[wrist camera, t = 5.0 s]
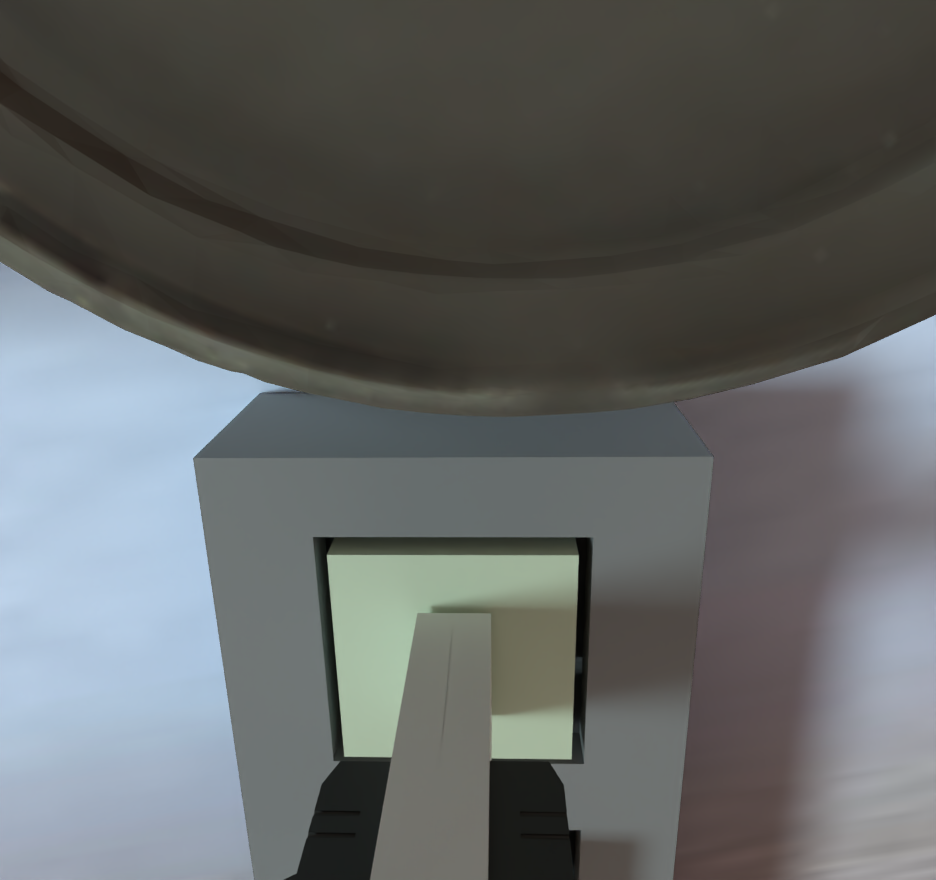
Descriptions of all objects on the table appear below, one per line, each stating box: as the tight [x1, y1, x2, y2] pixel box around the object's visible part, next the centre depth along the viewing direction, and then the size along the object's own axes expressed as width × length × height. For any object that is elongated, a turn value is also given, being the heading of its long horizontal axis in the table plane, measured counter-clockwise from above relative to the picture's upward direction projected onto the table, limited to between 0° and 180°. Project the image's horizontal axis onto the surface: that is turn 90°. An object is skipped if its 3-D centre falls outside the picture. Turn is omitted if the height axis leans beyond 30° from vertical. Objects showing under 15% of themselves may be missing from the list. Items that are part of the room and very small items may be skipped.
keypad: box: [193, 393, 714, 880], centre depth 21 cm, size 24×10×4 cm, turn 1°
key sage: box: [327, 537, 579, 759], centre depth 18 cm, size 5×5×3 cm
